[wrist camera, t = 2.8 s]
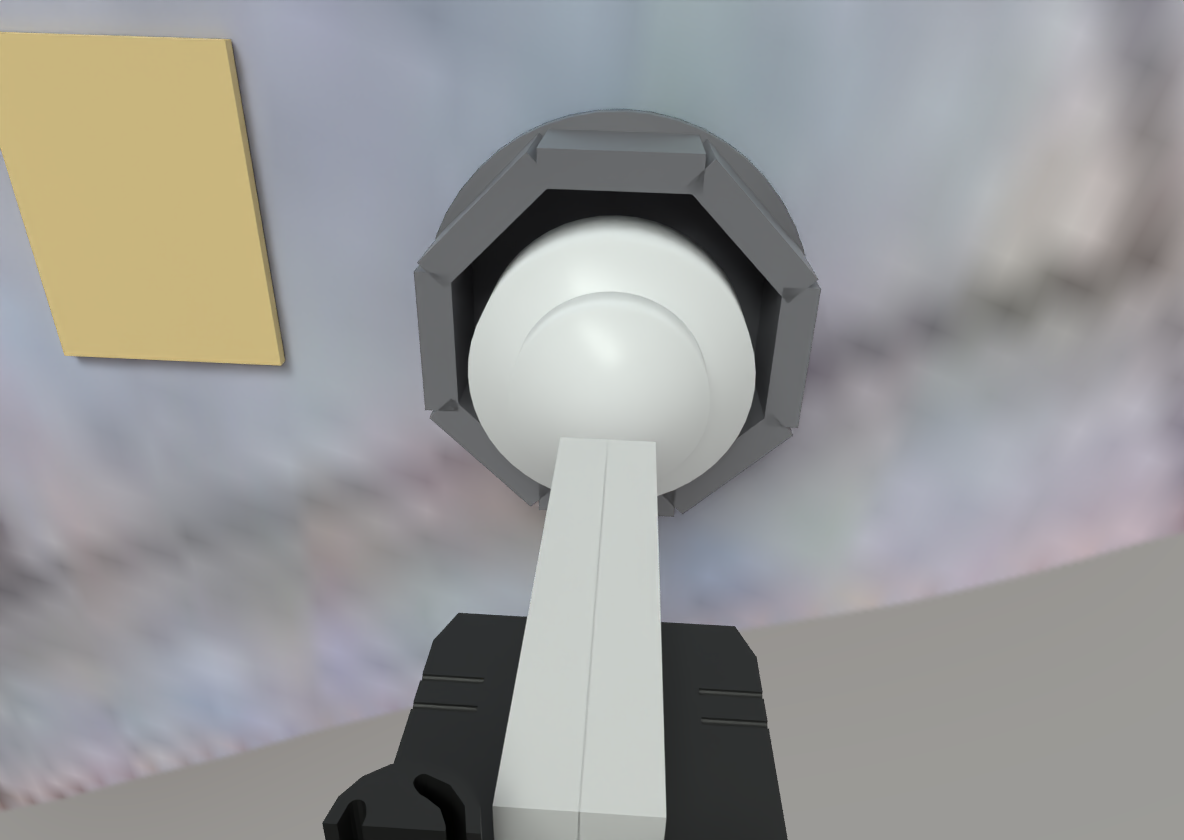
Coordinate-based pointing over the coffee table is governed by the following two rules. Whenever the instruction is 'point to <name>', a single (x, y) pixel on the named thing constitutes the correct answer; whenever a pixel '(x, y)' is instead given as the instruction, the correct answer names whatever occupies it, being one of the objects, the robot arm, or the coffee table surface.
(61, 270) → the tile
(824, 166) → the coffee table surface
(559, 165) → the dome base
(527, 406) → the dome
